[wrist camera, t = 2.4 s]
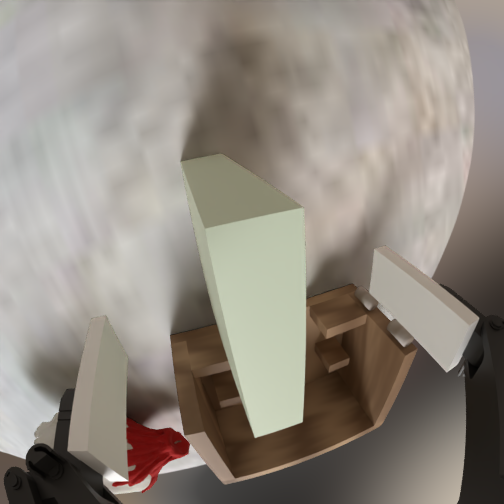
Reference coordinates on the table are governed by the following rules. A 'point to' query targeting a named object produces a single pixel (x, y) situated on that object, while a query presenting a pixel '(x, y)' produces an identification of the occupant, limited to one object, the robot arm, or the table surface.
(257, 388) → the door
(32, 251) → the table surface
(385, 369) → the cabinet
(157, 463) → the white and red lump
